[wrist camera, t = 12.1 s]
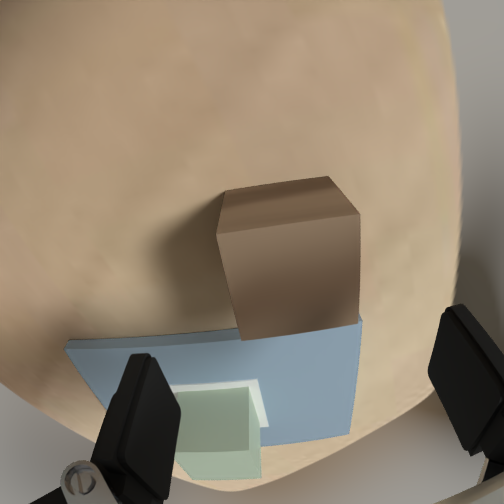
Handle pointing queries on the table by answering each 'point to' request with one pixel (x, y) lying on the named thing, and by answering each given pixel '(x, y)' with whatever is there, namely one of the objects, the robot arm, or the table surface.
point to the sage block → (219, 435)
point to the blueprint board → (245, 374)
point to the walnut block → (290, 257)
